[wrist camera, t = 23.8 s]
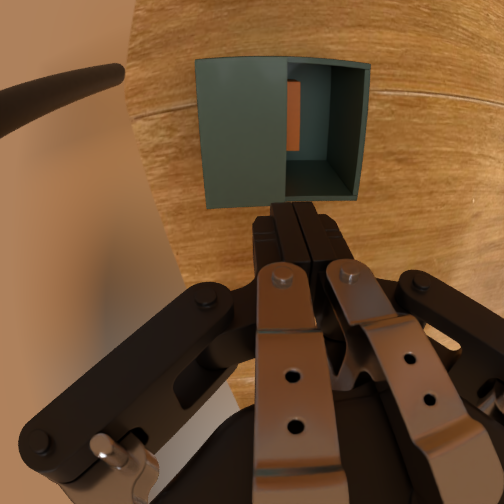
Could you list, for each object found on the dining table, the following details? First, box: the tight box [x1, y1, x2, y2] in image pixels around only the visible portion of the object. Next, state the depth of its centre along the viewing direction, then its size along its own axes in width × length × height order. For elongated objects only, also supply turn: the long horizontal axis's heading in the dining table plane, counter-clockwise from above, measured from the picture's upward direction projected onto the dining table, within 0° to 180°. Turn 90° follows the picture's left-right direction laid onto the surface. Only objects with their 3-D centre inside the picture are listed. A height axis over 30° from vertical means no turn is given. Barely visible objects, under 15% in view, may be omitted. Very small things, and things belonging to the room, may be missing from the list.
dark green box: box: [196, 56, 371, 202], centre depth 26 cm, size 13×12×10 cm
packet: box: [286, 79, 300, 151], centre depth 28 cm, size 4×7×3 cm, turn 2°
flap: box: [195, 57, 287, 209], centre depth 22 cm, size 6×12×1 cm, turn 2°
